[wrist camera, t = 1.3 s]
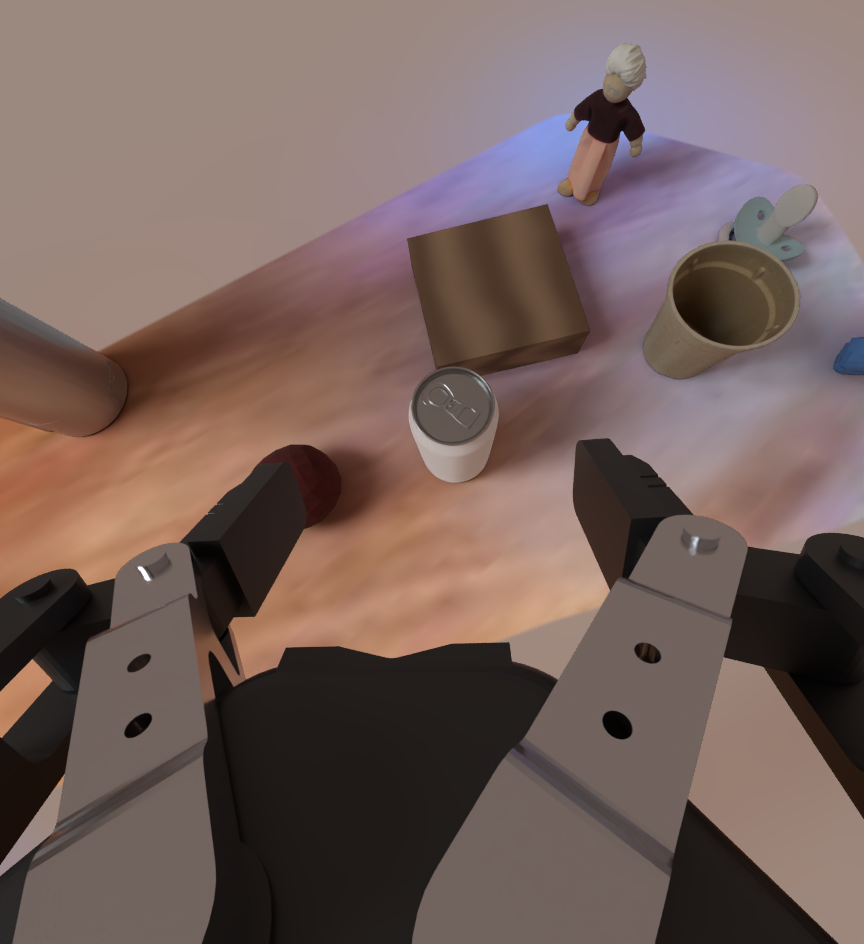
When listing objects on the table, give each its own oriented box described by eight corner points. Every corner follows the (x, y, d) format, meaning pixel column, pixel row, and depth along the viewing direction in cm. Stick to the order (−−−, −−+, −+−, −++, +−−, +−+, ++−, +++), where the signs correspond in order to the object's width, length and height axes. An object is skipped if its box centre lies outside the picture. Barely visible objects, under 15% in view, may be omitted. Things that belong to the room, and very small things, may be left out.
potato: (253, 487, 39) (208, 473, 32) (326, 441, 39) (297, 417, 32) (287, 551, 37) (248, 551, 31) (363, 503, 38) (341, 491, 31)
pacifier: (740, 289, 40) (796, 265, 39) (788, 242, 33) (855, 213, 33) (701, 233, 41) (755, 209, 41) (741, 178, 35) (804, 150, 35)
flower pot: (604, 353, 39) (643, 298, 31) (664, 289, 40) (719, 219, 31) (684, 414, 37) (749, 373, 29) (745, 346, 38) (826, 287, 30)
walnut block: (440, 385, 40) (437, 366, 36) (412, 267, 43) (407, 238, 39) (577, 352, 39) (590, 330, 35) (539, 236, 42) (547, 204, 38)
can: (448, 406, 39) (442, 343, 27) (502, 443, 38) (520, 393, 26) (409, 458, 38) (385, 416, 27) (463, 497, 37) (463, 471, 25)
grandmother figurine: (543, 197, 43) (576, 54, 31) (555, 170, 44) (592, 18, 31) (613, 217, 42) (675, 76, 30) (624, 188, 43) (690, 38, 30)
